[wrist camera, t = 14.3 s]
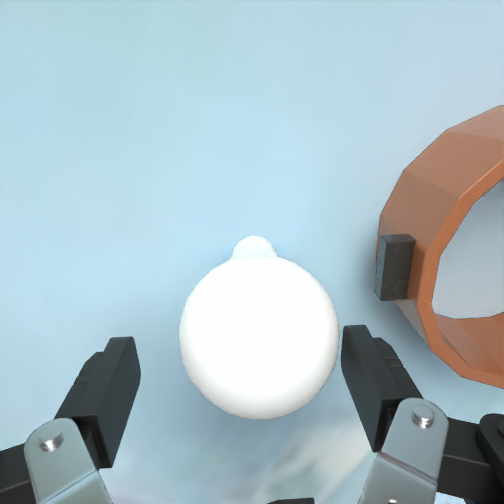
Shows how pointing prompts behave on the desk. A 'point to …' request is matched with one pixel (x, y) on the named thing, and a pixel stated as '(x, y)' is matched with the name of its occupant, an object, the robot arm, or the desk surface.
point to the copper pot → (443, 242)
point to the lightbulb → (259, 334)
